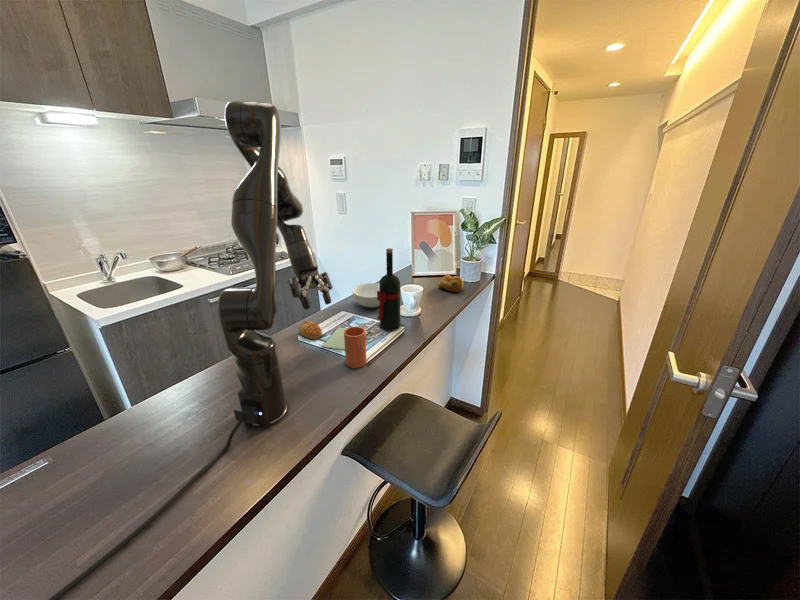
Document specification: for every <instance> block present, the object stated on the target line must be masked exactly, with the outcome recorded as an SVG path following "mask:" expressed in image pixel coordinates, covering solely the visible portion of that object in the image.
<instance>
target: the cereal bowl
mask: <svg viewBox="0 0 800 600" xmlns="http://www.w3.org/2000/svg"><path fill="white" fill-rule="evenodd" d="M377 291H380V283H376V282H369V283H361V284H358V285H355V287H353V288H352V298H353V300H354V301H355V302H356V303H357V304H358V305H360V306H362V307H365V308H369V309H375V308H379V304H380V301H378V299H377Z"/></svg>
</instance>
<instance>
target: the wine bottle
mask: <svg viewBox="0 0 800 600" xmlns="http://www.w3.org/2000/svg"><path fill="white" fill-rule="evenodd" d="M385 251H386V254H385V255H386V257H385V258H386V274H384V275H383V276H382V277H380V280H379V284H380V291H377V299H378V301H380V304H379V307H378V315H377V322H378V321H379V327H380V329H382V330H384V331H387V332H394V331H397V330H399V329H400V328H401V280H400V279H399V277H398V276H397V275H395V274H394V270H393V269H394V268H393V267H394V261H393V260H394V258H393V257H394V256H393V255H394V254H393V253H394V252H393V248H390V247H389V248H386V249H385Z"/></svg>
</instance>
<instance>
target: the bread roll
mask: <svg viewBox="0 0 800 600" xmlns="http://www.w3.org/2000/svg"><path fill="white" fill-rule="evenodd" d="M437 287H438V288H439V289H440V290H444V291H447V292H449V293H450V292H451V293H458V292H461V291H462V290H463V288H464V281H463V279H462V278H461V277H459V276H456V275H453V276H451V275H449V274H445V275H444V276H442V278H441V279H440V280H439V281H438V282H437Z"/></svg>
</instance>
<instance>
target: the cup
mask: <svg viewBox="0 0 800 600" xmlns="http://www.w3.org/2000/svg"><path fill="white" fill-rule="evenodd" d="M346 328H347V329H345V330H344V342H345V350H344V355H345V364H346V366H347V367H348V368H352V369H359V368H362V367H364V366H365V365H366V364H367V345H366V344H367V343H366V342H367V341H366V337H365V330H366V329H365V328H364V327H361V326H356V325H355V326H349V327H346Z"/></svg>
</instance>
